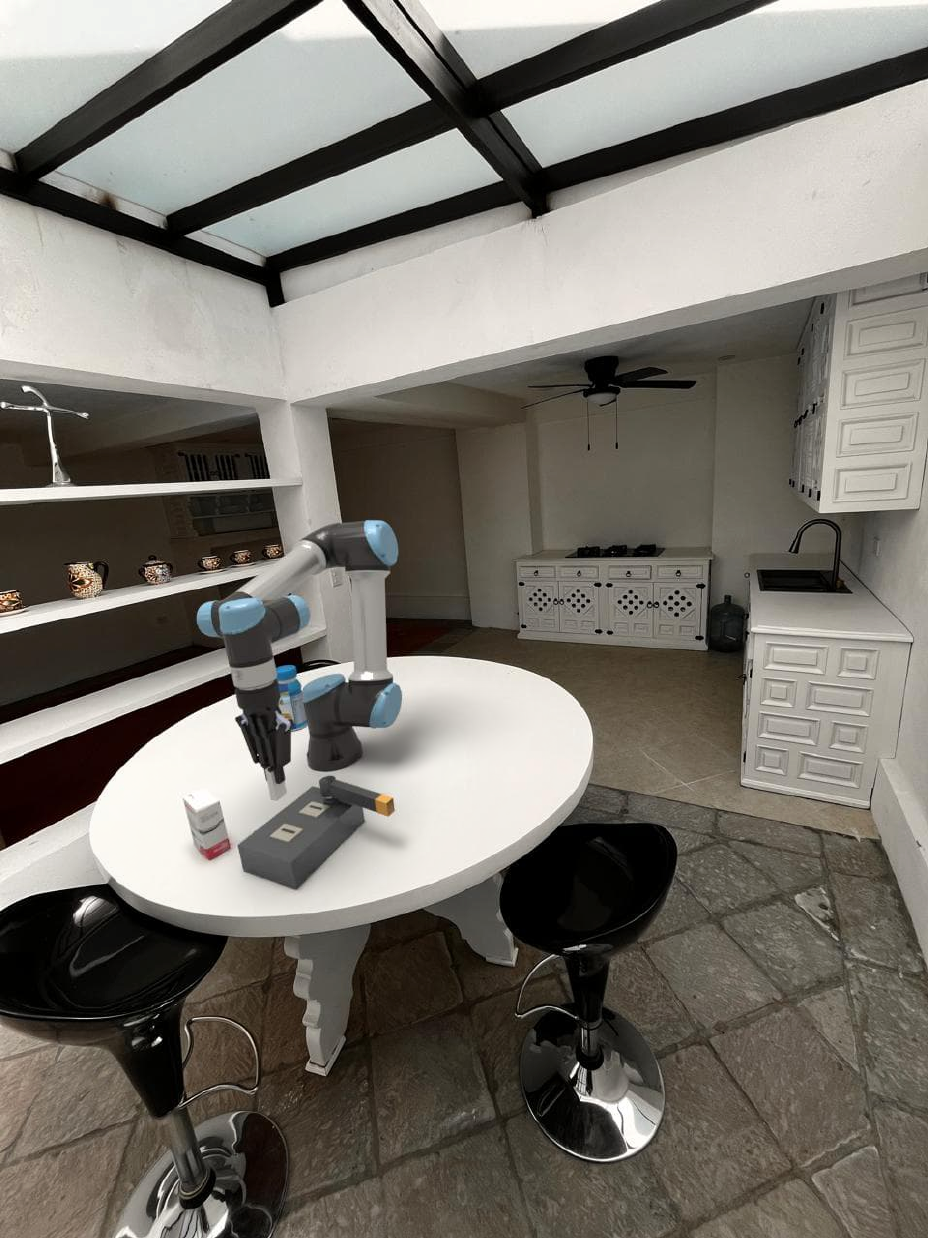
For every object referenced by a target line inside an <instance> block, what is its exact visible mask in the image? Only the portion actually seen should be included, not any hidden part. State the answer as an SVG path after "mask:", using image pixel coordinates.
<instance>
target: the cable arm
mask: <svg viewBox="0 0 928 1238" xmlns="http://www.w3.org/2000/svg"><path fill="white" fill-rule="evenodd" d="M318 785H319V788H320V791H321V795H322V796H323V797H330V796H331V797H334V798H337V799H340V800H343V801H346V802H348V803H351V804H354V805H357V806H360V807H363V809H366V810H369V811H372V812H375V813H377V814H378V815H382V816H385V817H387V818H388V817H390V816H391V815H392V814H394V813H395V812H396V809H395V802H394V797H392V796H389V795H387V794H383V793H379V792H376V791H373V790H370V789H367V788H363V787H360V786H357V785H354V784H351V783H348V782H345V781H343V780H338V779H336V776H335V775H326V776H324V777H321V778H320V779H319V781H318Z"/></svg>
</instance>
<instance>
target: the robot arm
mask: <svg viewBox="0 0 928 1238" xmlns="http://www.w3.org/2000/svg"><path fill="white" fill-rule="evenodd" d="M398 557H399V545H398V541H397V537H396V534H395V532H394V531H393V528H392V527H391V526H390V525H389V524H388V523H387V522H385V521H384V520H375V519H374V520H371V519H367V520H359V521H350V522H337V523H336V522H335V523H330V524H327V525H324V526H322V527H320V528H318V529H316V530H314V531H312V532H311V533H309V534H307V535H306V536H304V537H302V538H301V539H299V540H298V541H296V542H295V543H294V545H293V546H292V548H291V551H290V552H289V553H287V554H286V555H284V556H282V557H281V558H280V559H279V560H278V561H276V562H274V563H273V564H272V565H270V566H269V567H267V568H266V569H265V570H264V571H262V572H261V573H259V574H258V575H256V576H255V577H254V578H252V579H250V581H248V582H246V583H245V584H244V585H242V586H241V587H239V588H238V589H237V590H236V591H234V592H233V593H231V594H230V595H228V596H227V597H226V598H224V599H222V600H219V599H218V600H217V599H216V600H213V601H212V600H211V601H206V602H204V603H203V604H202V605H201V606H200V607H199V609H198V611H197V615H196V624H197V626H198V628H199V630H200V631H201V633H202V634H204V635H205V636H206V637H207V636H208V637H211V638H221V639H222V640H223V644H224V648H225V652H226V656H227V661H228V665H229V668H230V673H231V679H232V683H233V686H234V687H235V689H234V694H235V698H236V704H237V707H238V708H239V709H240V710H242V713H241V714H239V715H237V716H235V717H234V721H235V722H236V724H237V725H238V727H239V728H240V731H241V734H242V735H243V736H242V737H243V739H244V740H245V743H246V746H247V749H248V751H249V754H250V757H251V759H252V761H253V763H254V764H255V765H257V764H260V765H259V766H260V767H261V768H262V770H263V774H264V778H265V781H266V782H267V786H268V791H269V796H270V800H271V801H276V802H277V801H278V800H280V799H281V798H282V797H284V796H286V795H287V792H288V791H287V787H286V774H285V766H287V765H288V764H290V763H291V761H292V758H291V757H292V731H291V729H292V726H293V723H294V722H293V720H292V719H288V720H286V719H285V718H284V717H283V716H282V712H281V710H280V708H279V706H278V702H279V700H280V698H281V694H280V689H279V684H278V681H277V680H276V678H277V672H276V668H277V667H276V663H275V659H274V654H273V648H272V644H273V643H276V642H278V641H280V640H282V639H285V638H287V637H290V636H292V635H296V634H297V633H299V632H300V631H301V630H303V629H305V628H306V627H307V626H308V625H309V623H310V618H311V611H310V607H309V604H307V602H306V600H304V599H303V598H302V597H301V596H298V595H293V594H291V593H292V592H293V591H294V590H296V589H297V588H298V587H299V586H300V585H301V584H303V583H304V582H305V581H306V580H308V579H309V578H311V576H318V575H319V574H321V573H322V572H323V571H325V570H328V569H334V568H344V573H345V575H346V576H347V577H349V578H350V580H351V581H350V583H351V610H352V611H351V613H352V614H351V615H352V619H351V620H352V644H353V648H352V649H353V650H352V651H353V672H352V673H351V674H350V675H349V676H348V678H347V679H348V681H347V679H346V677H345V676H344V674H342V673H332V674H327V675H324V676H321V677H317V678H315V679H313V680H311V681H309V682H307V683H306V684H305V685H304V686H303V688H302V689H301V690H302V694H303V704H304V709H305V714H306V719H307V729H308V733H309V735H308V736H309V739H308V740H309V741H308V745H307V752H306V760H307V765H308V767H309V768H310V769H312V770H314V771H318V772H330V771H335V770H339V769H343V768H346V767H348V766H350V765H352V764H354V763H356V762H357V761H359V760H360V759H361V757H362V756H363V752H364V751H363V745H362V744H363V743H362V742H361V740H360V739H359V737H358V734H357V733H356V731H355V729H354V727H356V728H357V727H358V728H371V729H385V728H389V727H391V726H392V725H393V724H394V723H395V722H396V720H397V718H398V716H399V714H400V712H401V709H402V704H403V691H402V689H401V686H400V685H399V684H397V682H394V675H393V674H392V672H390V671H389V670H388V656H387V654H388V653H387V623H386V621H387V620H386V619H387V617H386V615H387V614H386V590H385V589H386V588H385V587H386V586H385V585H386V583H385V582H386V581H385V579H386V578H387V577H388V576H389V575H390V574H391V566H393V565H395V564H396V563H397V561H398ZM289 594H291V595H289Z"/></svg>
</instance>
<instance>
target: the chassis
mask: <svg viewBox="0 0 928 1238" xmlns="http://www.w3.org/2000/svg"><path fill="white" fill-rule="evenodd" d="M365 822H366V820H365V813H364V808H363V807H360V806H357V805H354V804H351V803H348V802H346V801H343V800H340V799H337V798H334V797H331V796H330V797H323V796H322V795H321V791H320V787H316V786H311V787H310V788H308V790H306V791H305V792H303V793H302V794H301V795H300V796H298V797H297V798H296V799H295V800H293V801H292V802H291V803H289V804H288V805H287V806H286V807H284V808H283V809H282V810H281V811H279V812H278V813H276V814H275V815H274V816H272V818H270V819H269V820H267V821H266V822H265V823H264V824H262V825H261V826H260V827H258V828H257V829H256V830H255V831H253V832H252V833H251V834H249V835H248V836H247V837H246V838H245V839H243V840H242V841H241V842H240V843H238V844H237V849H238V854H239V858H240V863H241V865H242V870H243V871H242V872H245V873H247V874H250V875H254V876H255V877H259V878H261V879H264V880H266V881H270V882H272V883H275V884H279V885H281V886H284V887H286V888H289V889H292V890H294V891H297V890H298V889H299V888H300V887H301V886H302V885H303V884H304V883H305V882H306V881H307V880H308V879H309V878H310V877H311V876H313V874H314V873H315V872H316V871H317V870H318V869H319V868H320V867H321V866H322V865H323V864H324V863H325V862H326V861H327V860H328V859H329V858H330V857H331V856H332V855H333V854H334V853H336V851H337V850H338V849H339V848H340V847H341V846H342V845H343V844H344V843H345V842H346V841H347V840H348V839H349V838H350V837H351V836H352V835H353V834H354V833H355V832H356V831H357V830H358V829H359V828H360V827H361V826H362V825H363V824H364V823H365Z"/></svg>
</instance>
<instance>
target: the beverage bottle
mask: <svg viewBox="0 0 928 1238" xmlns="http://www.w3.org/2000/svg"><path fill="white" fill-rule="evenodd" d="M276 672H277V678H276V680H277V681H278V684H279V689H280V694H281V698H280V700H279V702H278V706H279V708H280V710H281V712H282V716H283V717H284V718H285V719H286V720H288V719H292V720H293V722H294V723H293V726H292V729H291V732H294V731H298V730H301V729H304V728H305V727H306V726H308V724H307V719H306V714H305V709H304V704H303V694H302V690H303V689H302V684H301V682H300V681H299V680H298V678H297V676H298V674H297V673H298V672H297V668H296V666H295V665H292V664H288V665H281V666H278V667H276Z"/></svg>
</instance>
